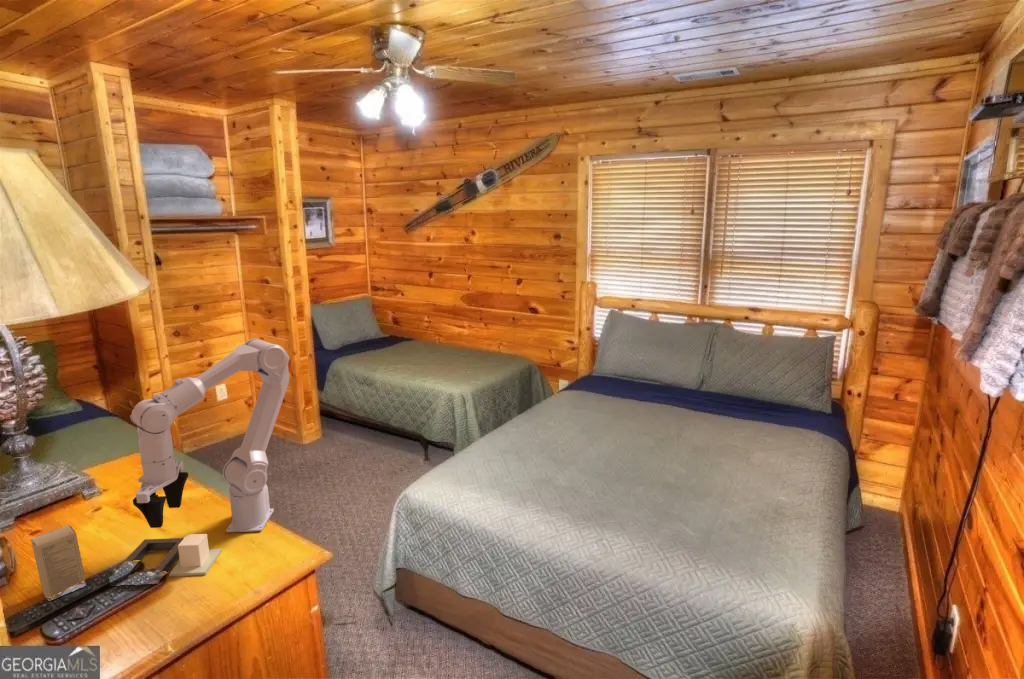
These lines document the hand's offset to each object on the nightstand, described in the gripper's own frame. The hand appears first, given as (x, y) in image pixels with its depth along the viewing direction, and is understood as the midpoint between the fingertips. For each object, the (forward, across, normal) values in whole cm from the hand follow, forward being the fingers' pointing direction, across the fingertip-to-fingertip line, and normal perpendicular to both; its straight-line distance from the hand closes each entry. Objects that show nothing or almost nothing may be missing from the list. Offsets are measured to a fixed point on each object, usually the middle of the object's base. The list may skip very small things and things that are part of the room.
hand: (165, 516), depth 117 cm
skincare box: (+10, +10, -15) cm, 20 cm away
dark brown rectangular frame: (+9, +3, -2) cm, 10 cm away
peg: (+9, +3, +6) cm, 11 cm away
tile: (+9, +3, +6) cm, 12 cm away
